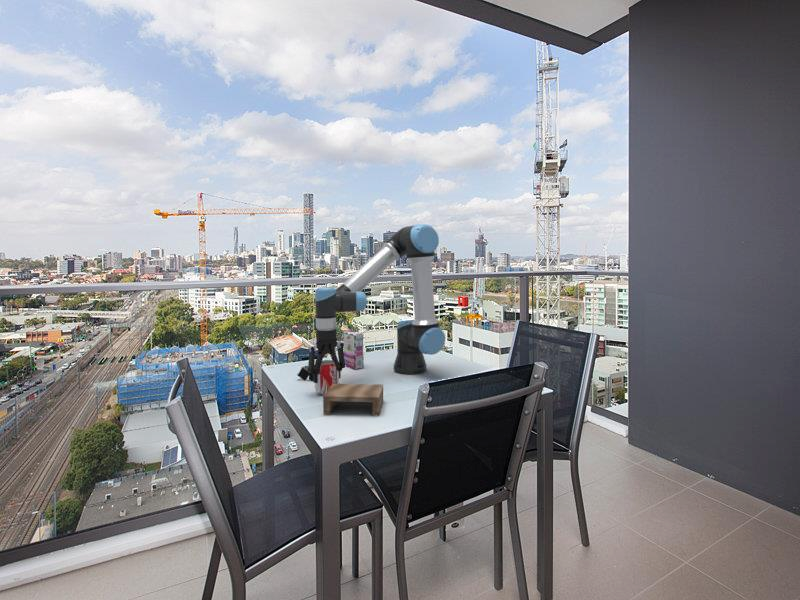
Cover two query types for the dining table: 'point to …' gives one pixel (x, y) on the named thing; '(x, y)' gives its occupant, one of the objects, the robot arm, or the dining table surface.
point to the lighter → (305, 374)
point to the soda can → (327, 375)
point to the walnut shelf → (353, 396)
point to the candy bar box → (353, 350)
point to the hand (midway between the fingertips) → (327, 389)
